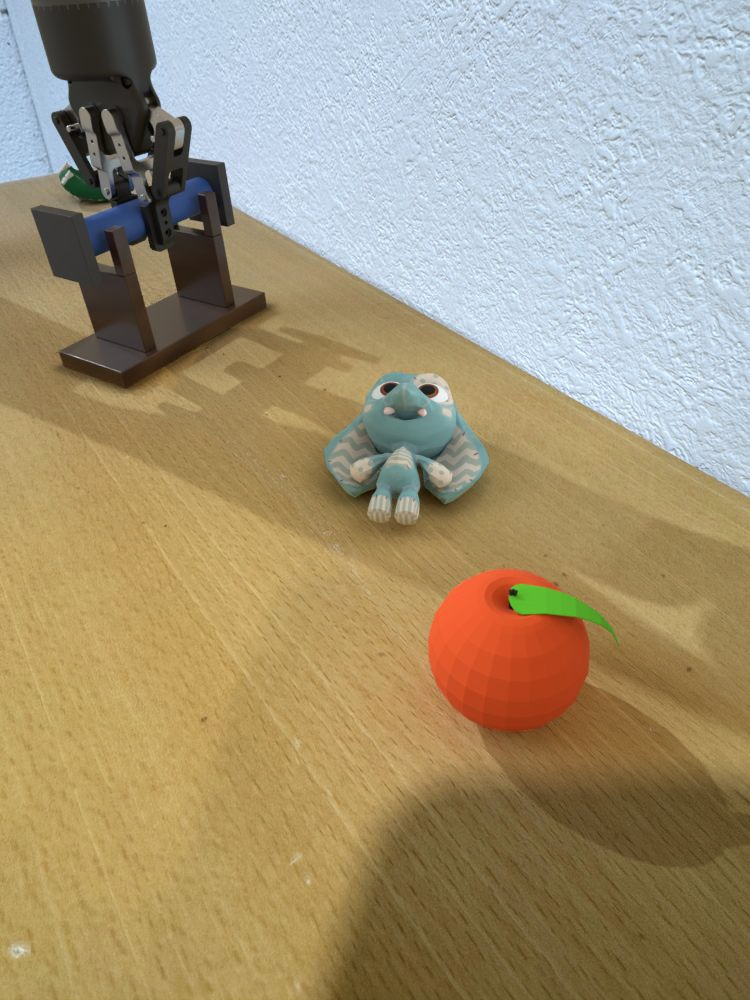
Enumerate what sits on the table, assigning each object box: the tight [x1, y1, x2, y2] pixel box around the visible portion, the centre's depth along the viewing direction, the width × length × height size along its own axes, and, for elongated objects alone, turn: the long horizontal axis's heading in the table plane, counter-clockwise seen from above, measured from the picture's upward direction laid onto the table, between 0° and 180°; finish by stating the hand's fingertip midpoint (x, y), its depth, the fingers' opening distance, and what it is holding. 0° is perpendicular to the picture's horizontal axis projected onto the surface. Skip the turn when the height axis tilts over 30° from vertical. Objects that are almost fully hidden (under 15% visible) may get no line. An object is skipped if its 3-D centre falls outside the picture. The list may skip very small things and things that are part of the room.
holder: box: [58, 191, 268, 389], centre depth 61 cm, size 18×8×12 cm, turn 147°
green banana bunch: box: [58, 161, 110, 202], centre depth 100 cm, size 9×4×6 cm
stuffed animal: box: [323, 371, 490, 526], centre depth 44 cm, size 11×7×12 cm
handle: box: [30, 157, 236, 287], centre depth 58 cm, size 16×5×5 cm, turn 147°
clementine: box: [427, 568, 620, 733], centre depth 30 cm, size 8×7×7 cm
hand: (149, 244), depth 59 cm, fingers closed on handle, 3 cm apart
